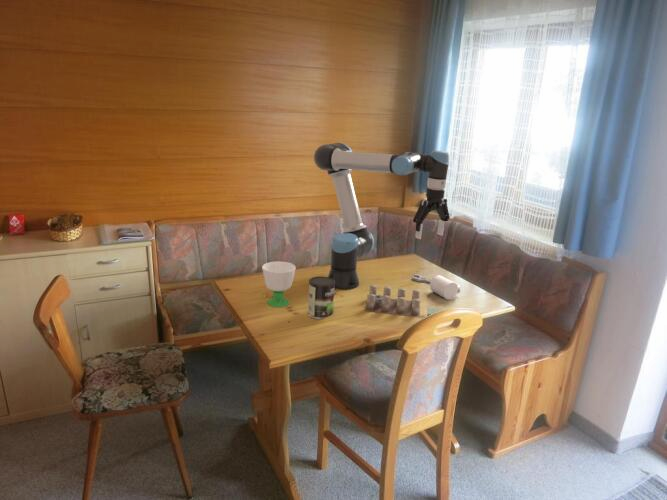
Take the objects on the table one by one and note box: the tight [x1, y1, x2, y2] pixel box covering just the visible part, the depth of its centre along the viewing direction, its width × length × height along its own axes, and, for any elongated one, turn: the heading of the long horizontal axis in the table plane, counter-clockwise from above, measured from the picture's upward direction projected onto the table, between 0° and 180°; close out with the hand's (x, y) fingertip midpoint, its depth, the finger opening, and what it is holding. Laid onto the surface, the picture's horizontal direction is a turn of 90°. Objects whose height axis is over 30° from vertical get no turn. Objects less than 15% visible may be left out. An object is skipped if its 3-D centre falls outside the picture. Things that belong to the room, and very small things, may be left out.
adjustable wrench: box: [411, 273, 461, 293], centre depth 230 cm, size 25×6×2 cm, turn 44°
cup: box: [261, 260, 297, 308], centre depth 199 cm, size 14×14×16 cm
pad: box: [426, 306, 442, 317], centre depth 199 cm, size 8×7×1 cm
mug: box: [429, 274, 461, 300], centre depth 217 cm, size 12×10×8 cm
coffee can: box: [307, 276, 336, 320], centre depth 191 cm, size 10×10×14 cm
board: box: [364, 284, 421, 318], centre depth 200 cm, size 22×16×7 cm
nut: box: [374, 294, 383, 307], centre depth 201 cm, size 4×5×4 cm
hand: (429, 236), depth 211 cm, fingers open, 13 cm apart
